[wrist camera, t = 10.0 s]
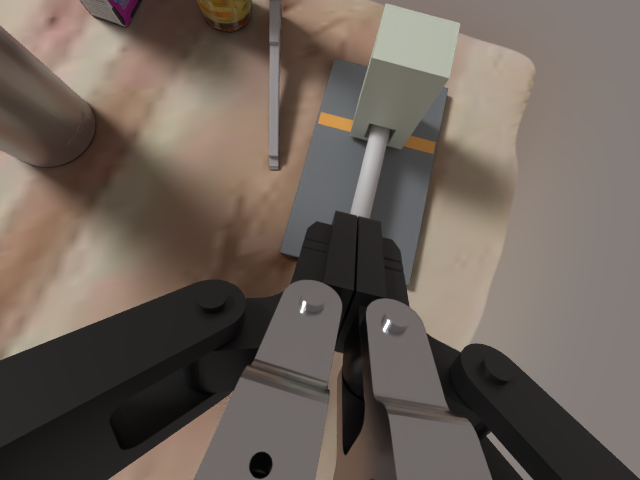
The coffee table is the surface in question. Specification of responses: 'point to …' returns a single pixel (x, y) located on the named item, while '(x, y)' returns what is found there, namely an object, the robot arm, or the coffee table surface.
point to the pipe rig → (364, 169)
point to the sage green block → (404, 73)
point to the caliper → (274, 82)
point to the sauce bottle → (226, 13)
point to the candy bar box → (112, 10)
